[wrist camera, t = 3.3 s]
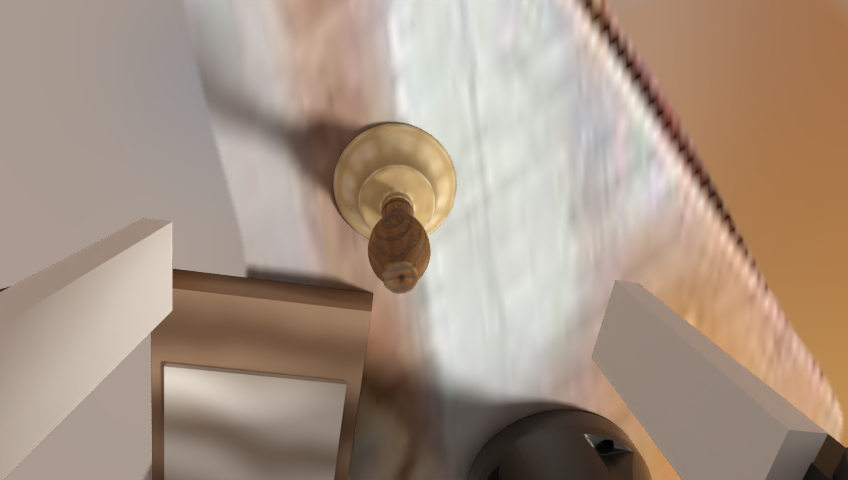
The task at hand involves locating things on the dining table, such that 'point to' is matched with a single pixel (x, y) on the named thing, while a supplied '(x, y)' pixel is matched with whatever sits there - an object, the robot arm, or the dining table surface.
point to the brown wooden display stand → (256, 379)
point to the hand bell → (395, 197)
